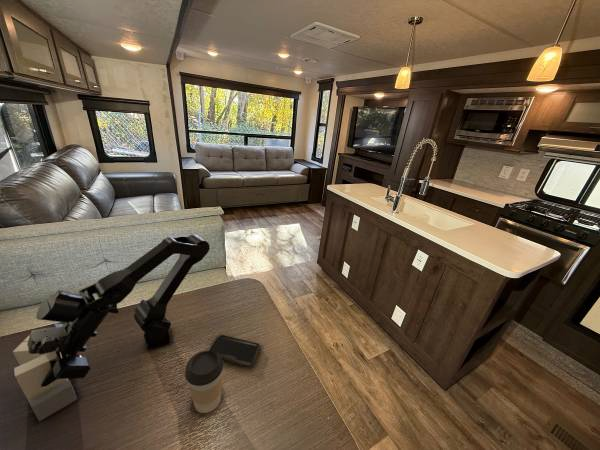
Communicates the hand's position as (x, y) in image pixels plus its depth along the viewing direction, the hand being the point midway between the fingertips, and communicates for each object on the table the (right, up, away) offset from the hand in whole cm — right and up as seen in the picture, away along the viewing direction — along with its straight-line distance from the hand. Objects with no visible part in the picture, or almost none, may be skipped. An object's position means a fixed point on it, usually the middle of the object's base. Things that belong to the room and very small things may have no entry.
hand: (42, 381), depth 61 cm
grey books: (0, -6, +3) cm, 7 cm away
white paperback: (0, -5, +3) cm, 6 cm away
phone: (+42, -3, +20) cm, 47 cm away
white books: (-6, -3, +9) cm, 11 cm away
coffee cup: (+39, -9, +6) cm, 40 cm away
